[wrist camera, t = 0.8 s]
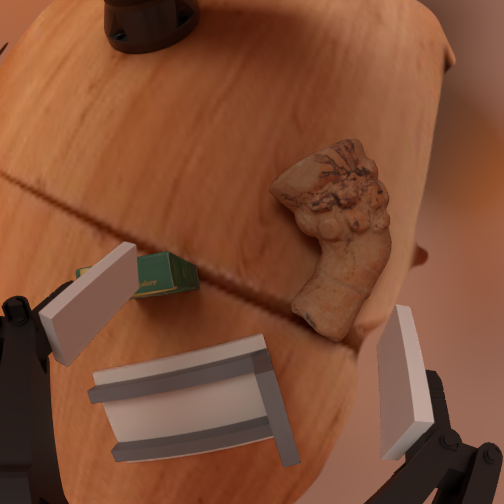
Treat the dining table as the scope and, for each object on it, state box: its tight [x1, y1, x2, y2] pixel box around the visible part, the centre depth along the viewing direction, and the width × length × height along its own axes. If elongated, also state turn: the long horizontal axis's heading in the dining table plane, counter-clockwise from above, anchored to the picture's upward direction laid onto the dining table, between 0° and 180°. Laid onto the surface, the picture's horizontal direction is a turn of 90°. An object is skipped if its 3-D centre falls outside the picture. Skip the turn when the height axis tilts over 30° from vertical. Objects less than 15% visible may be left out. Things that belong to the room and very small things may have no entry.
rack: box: [87, 333, 301, 468], centre depth 28 cm, size 12×20×11 cm, turn 105°
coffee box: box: [76, 251, 200, 299], centre depth 28 cm, size 8×3×13 cm, turn 100°
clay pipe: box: [269, 139, 392, 342], centre depth 32 cm, size 19×11×15 cm
